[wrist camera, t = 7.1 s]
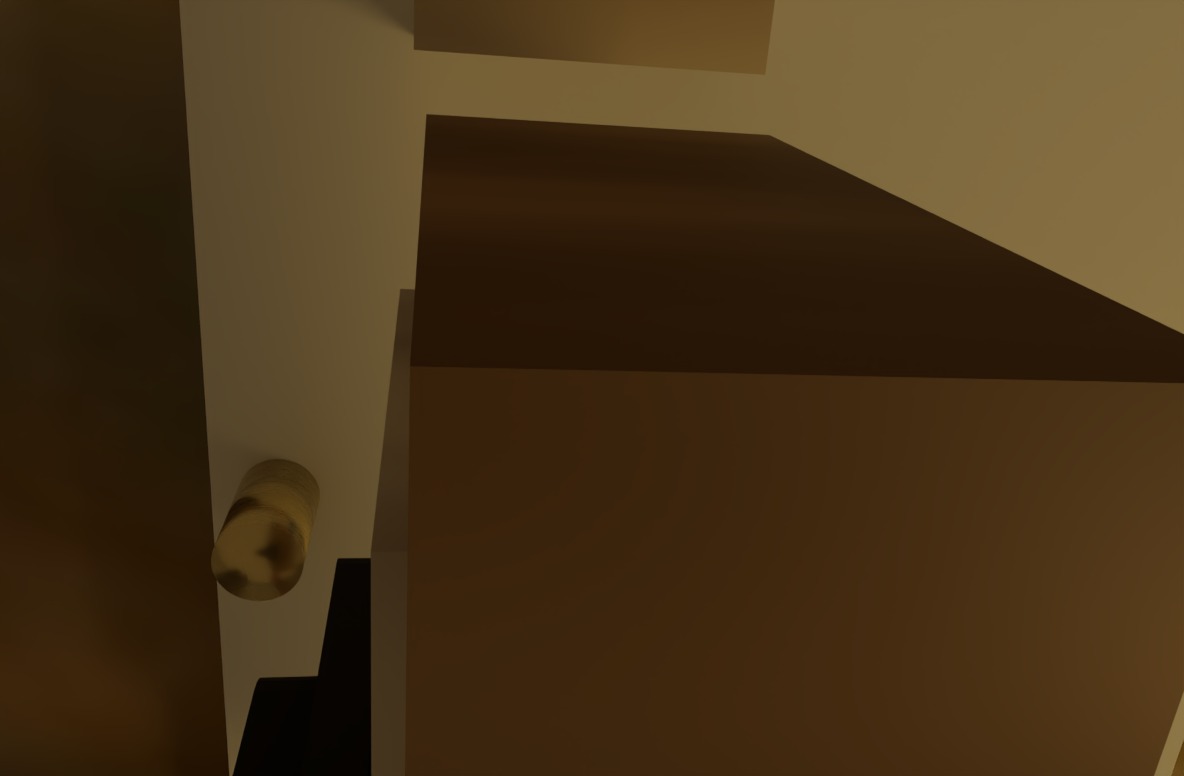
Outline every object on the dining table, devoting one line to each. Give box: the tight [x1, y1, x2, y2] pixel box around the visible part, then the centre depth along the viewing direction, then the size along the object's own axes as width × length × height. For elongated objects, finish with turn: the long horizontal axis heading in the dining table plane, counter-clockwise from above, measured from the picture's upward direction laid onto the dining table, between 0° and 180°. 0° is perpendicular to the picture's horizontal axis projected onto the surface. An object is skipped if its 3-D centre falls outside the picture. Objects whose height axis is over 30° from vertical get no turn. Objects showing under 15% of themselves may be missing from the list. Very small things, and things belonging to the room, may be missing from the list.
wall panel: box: [179, 0, 1184, 776], centre depth 17 cm, size 20×18×1 cm
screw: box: [211, 459, 320, 601], centre depth 15 cm, size 1×1×2 cm
